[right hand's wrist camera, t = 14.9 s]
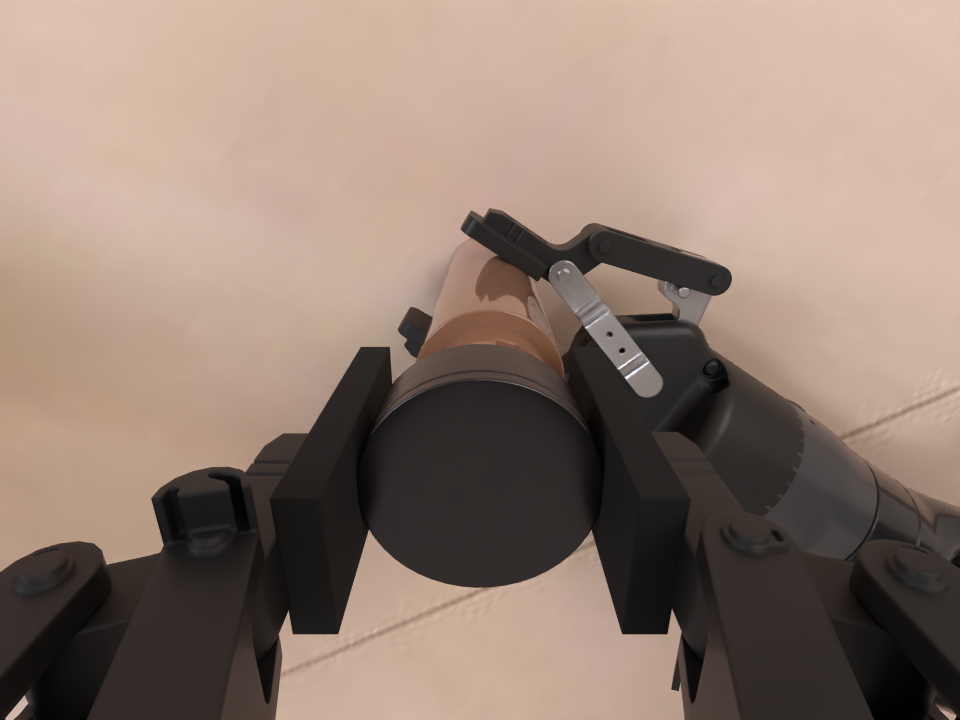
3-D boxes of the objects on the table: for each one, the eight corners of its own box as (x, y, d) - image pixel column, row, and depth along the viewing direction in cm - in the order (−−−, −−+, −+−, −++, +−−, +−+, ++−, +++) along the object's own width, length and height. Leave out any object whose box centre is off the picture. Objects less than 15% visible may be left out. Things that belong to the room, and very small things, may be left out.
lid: (549, 311, 11) (563, 342, 9) (610, 495, 13) (632, 551, 11) (338, 384, 12) (311, 427, 10) (422, 550, 13) (413, 613, 11)
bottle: (517, 321, 30) (546, 493, 15) (441, 303, 29) (391, 460, 14) (538, 244, 28) (595, 350, 13) (458, 224, 28) (423, 309, 13)
